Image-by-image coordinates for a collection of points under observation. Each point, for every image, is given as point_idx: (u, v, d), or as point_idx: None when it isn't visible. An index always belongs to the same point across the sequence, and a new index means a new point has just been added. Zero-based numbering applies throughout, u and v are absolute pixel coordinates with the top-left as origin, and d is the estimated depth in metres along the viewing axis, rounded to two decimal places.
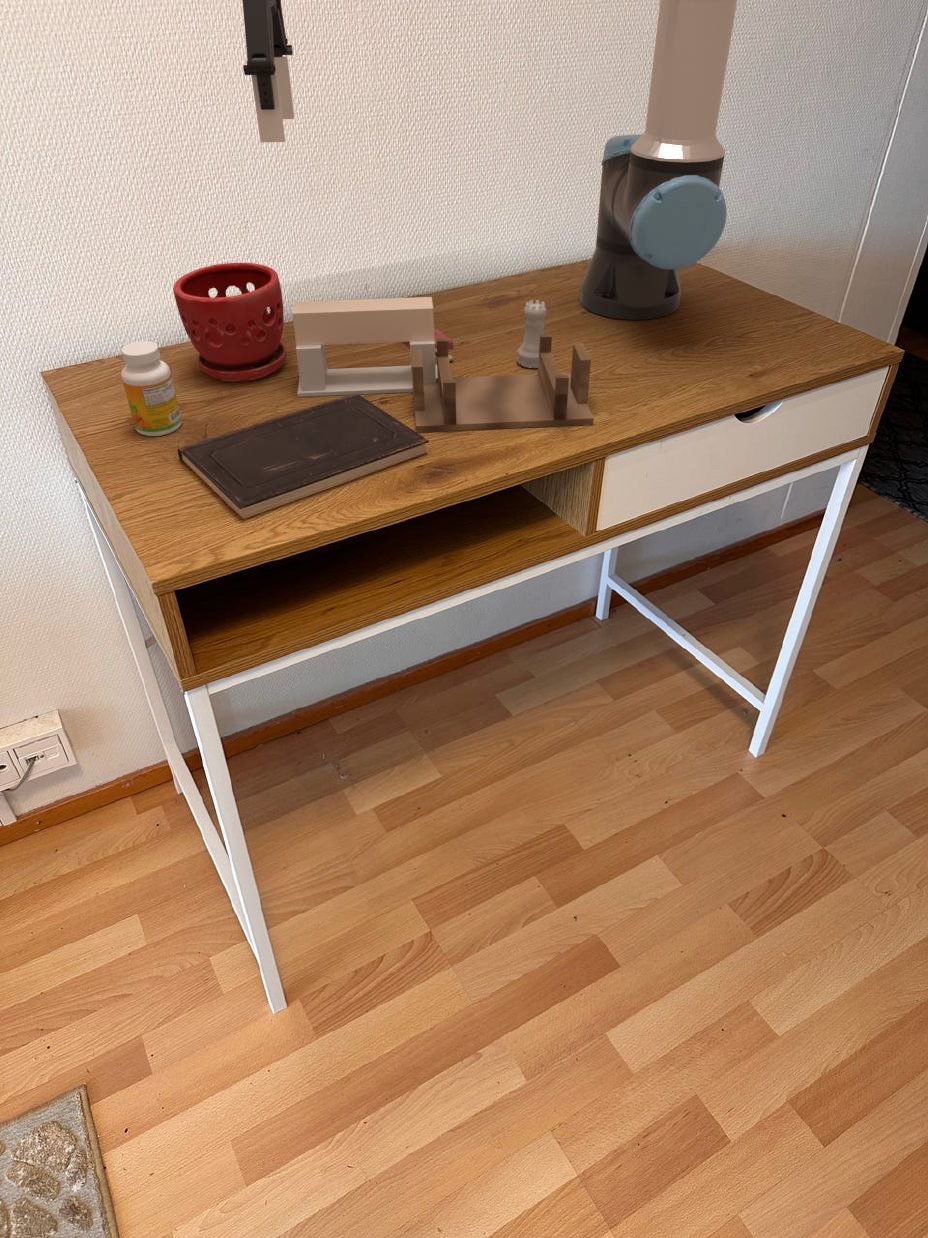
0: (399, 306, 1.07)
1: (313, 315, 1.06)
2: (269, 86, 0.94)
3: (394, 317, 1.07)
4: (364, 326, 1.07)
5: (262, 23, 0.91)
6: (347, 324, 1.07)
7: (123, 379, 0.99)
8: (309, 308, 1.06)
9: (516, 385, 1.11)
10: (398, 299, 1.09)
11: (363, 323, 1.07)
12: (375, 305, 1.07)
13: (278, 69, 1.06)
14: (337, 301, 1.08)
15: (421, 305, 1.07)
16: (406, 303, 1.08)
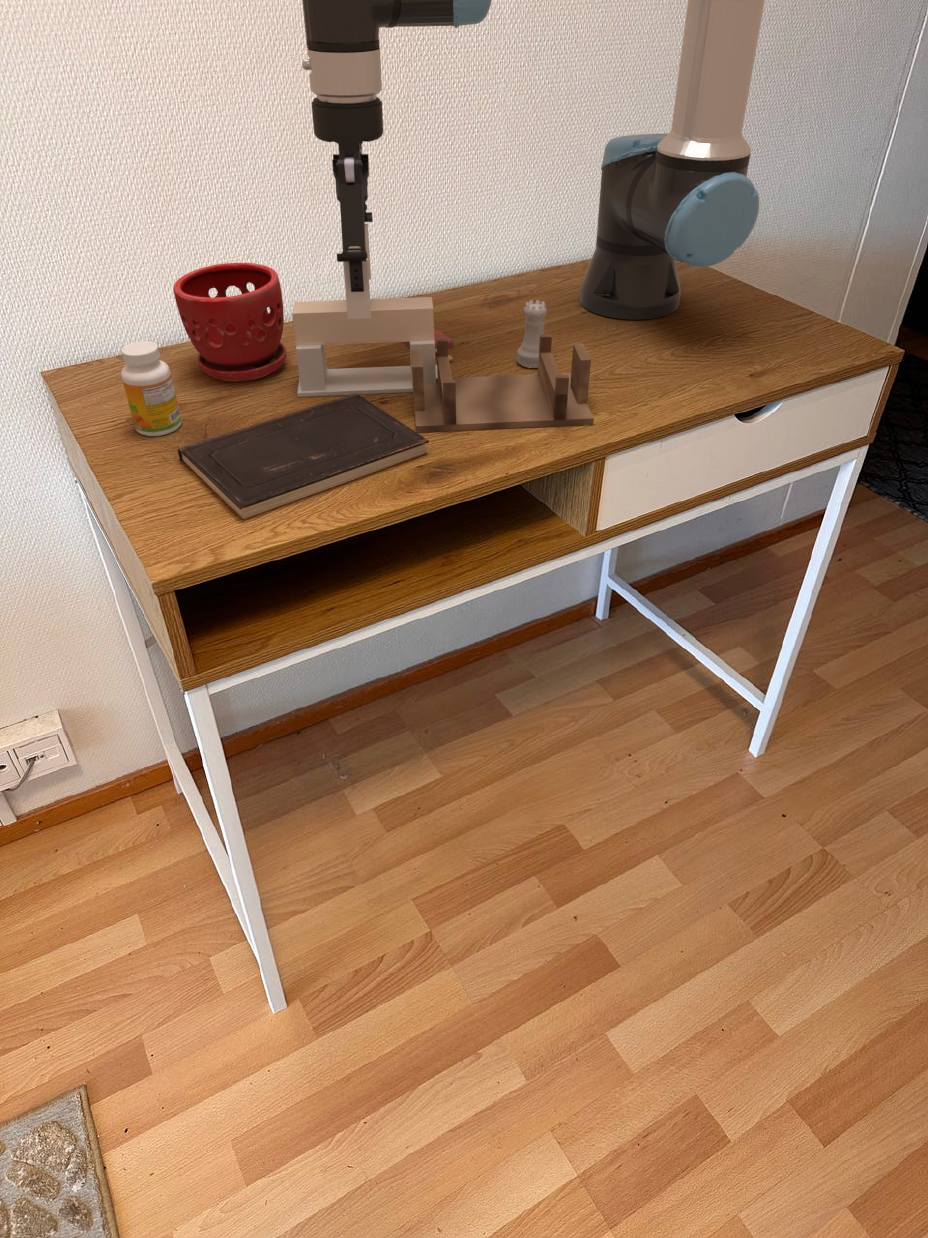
0: (399, 306, 1.07)
1: (313, 315, 1.06)
2: (360, 272, 0.97)
3: (394, 317, 1.07)
4: (364, 326, 1.07)
5: (358, 218, 0.93)
6: (347, 324, 1.07)
7: (123, 379, 0.99)
8: (309, 308, 1.06)
9: (516, 385, 1.11)
10: (398, 299, 1.09)
11: (363, 323, 1.07)
12: (375, 305, 1.07)
13: None
14: (337, 301, 1.08)
15: (421, 305, 1.07)
16: (406, 303, 1.08)
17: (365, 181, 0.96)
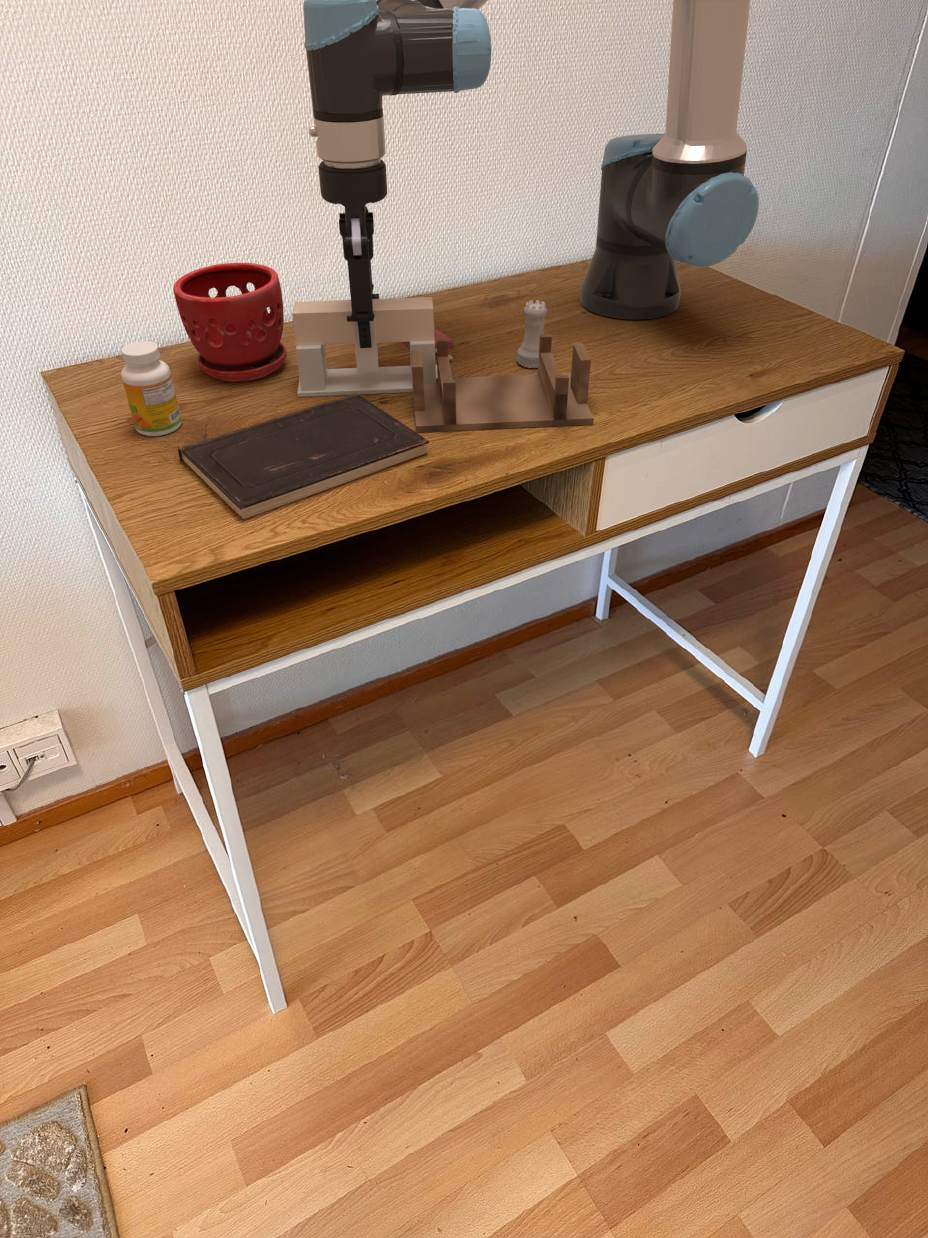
0: (399, 306, 1.07)
1: (313, 315, 1.06)
2: (368, 330, 1.06)
3: (394, 317, 1.07)
4: None
5: (366, 288, 1.00)
6: (347, 324, 1.07)
7: (123, 379, 0.99)
8: (309, 308, 1.06)
9: (516, 385, 1.11)
10: (398, 299, 1.09)
11: None
12: (375, 305, 1.07)
13: None
14: (337, 301, 1.08)
15: (421, 305, 1.07)
16: (406, 303, 1.08)
17: (371, 244, 1.01)
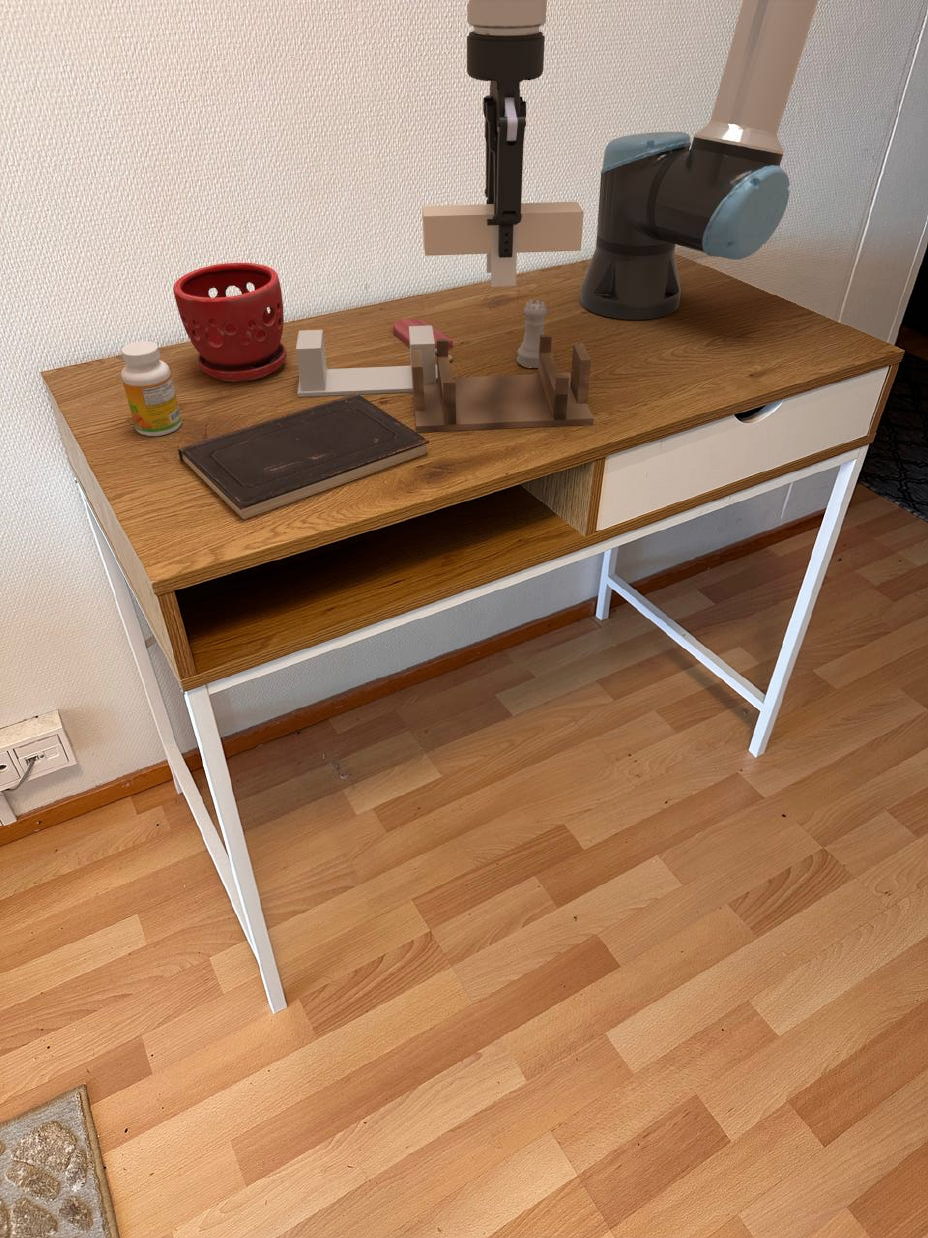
0: (543, 210, 0.94)
1: (447, 219, 0.93)
2: (511, 236, 0.92)
3: (539, 222, 0.93)
4: None
5: (516, 181, 0.87)
6: (485, 229, 0.94)
7: (123, 379, 0.99)
8: (441, 212, 0.93)
9: (516, 385, 1.11)
10: (540, 203, 0.96)
11: None
12: None
13: None
14: (471, 205, 0.95)
15: (569, 209, 0.94)
16: (550, 207, 0.95)
17: None
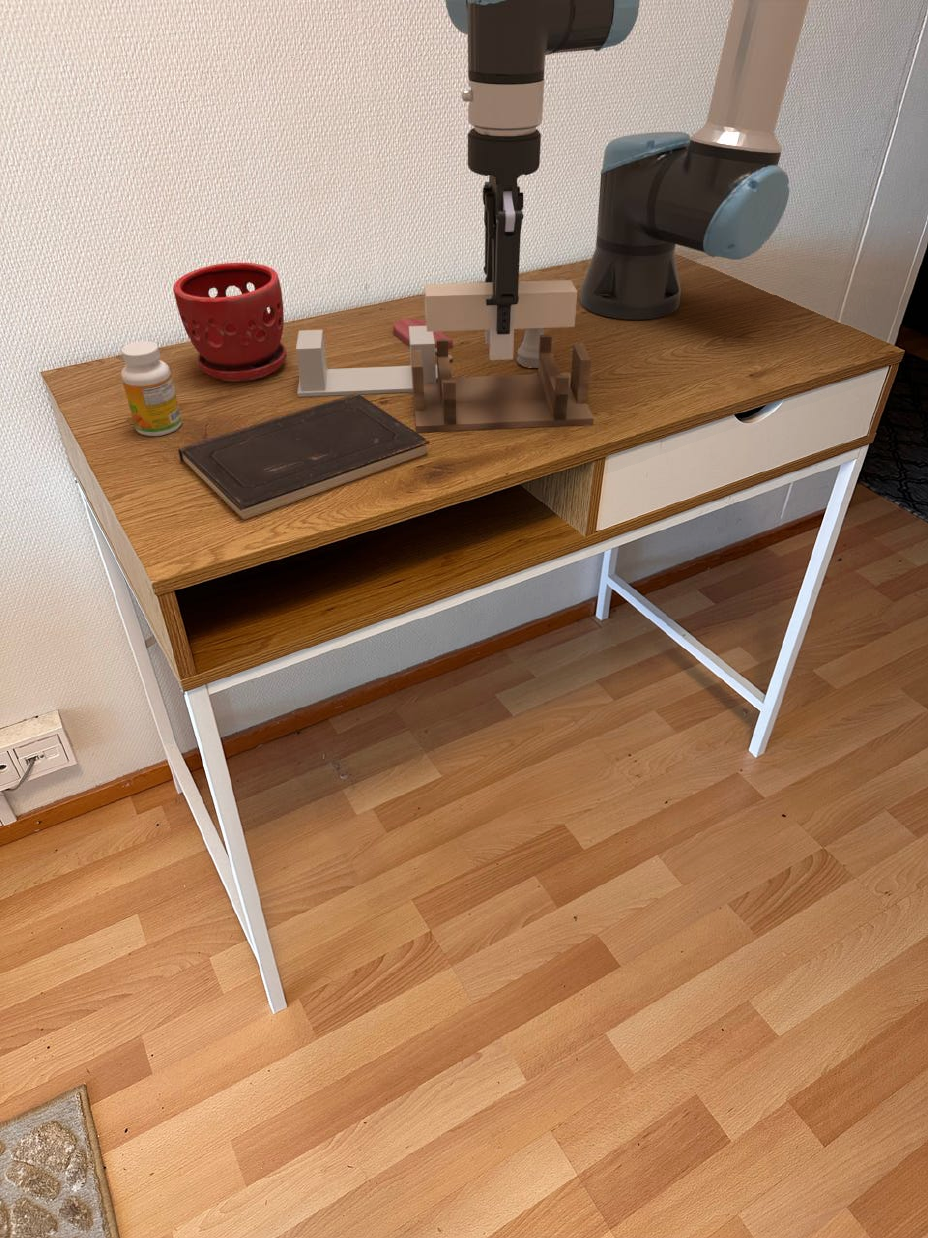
0: (539, 289, 0.99)
1: (448, 298, 0.98)
2: (509, 315, 0.98)
3: (535, 301, 0.99)
4: None
5: (514, 268, 0.93)
6: (484, 308, 0.99)
7: (123, 379, 0.99)
8: (443, 291, 0.98)
9: (516, 385, 1.11)
10: (536, 282, 1.01)
11: None
12: None
13: None
14: (470, 284, 1.00)
15: (563, 288, 0.99)
16: (546, 286, 1.00)
17: None
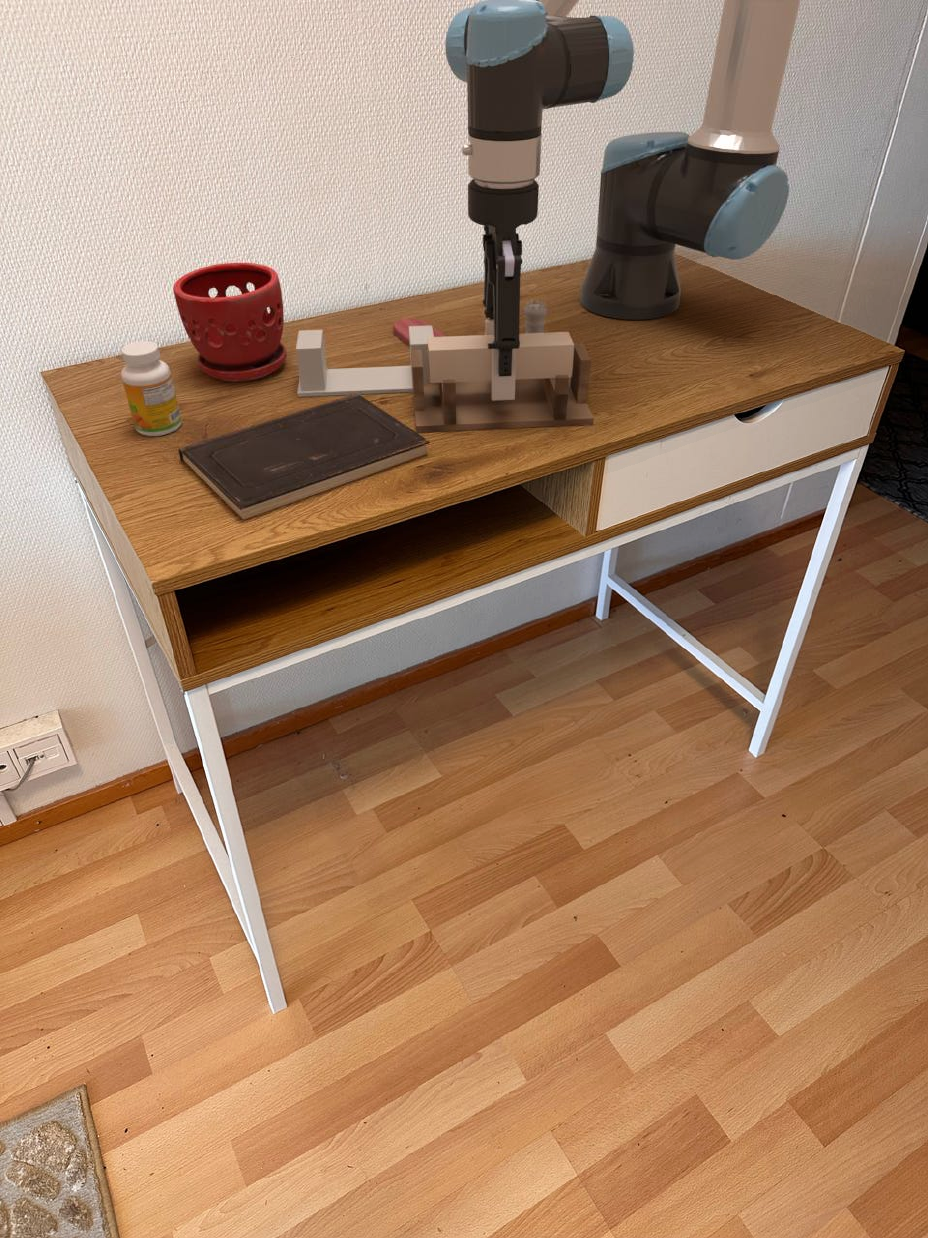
0: (538, 342, 1.03)
1: (450, 352, 1.02)
2: (510, 358, 0.99)
3: (533, 353, 1.03)
4: None
5: (514, 312, 0.95)
6: (485, 361, 1.03)
7: (123, 379, 0.99)
8: (445, 345, 1.03)
9: (516, 385, 1.11)
10: (535, 334, 1.05)
11: None
12: None
13: None
14: (472, 336, 1.04)
15: (561, 341, 1.03)
16: (544, 338, 1.04)
17: None
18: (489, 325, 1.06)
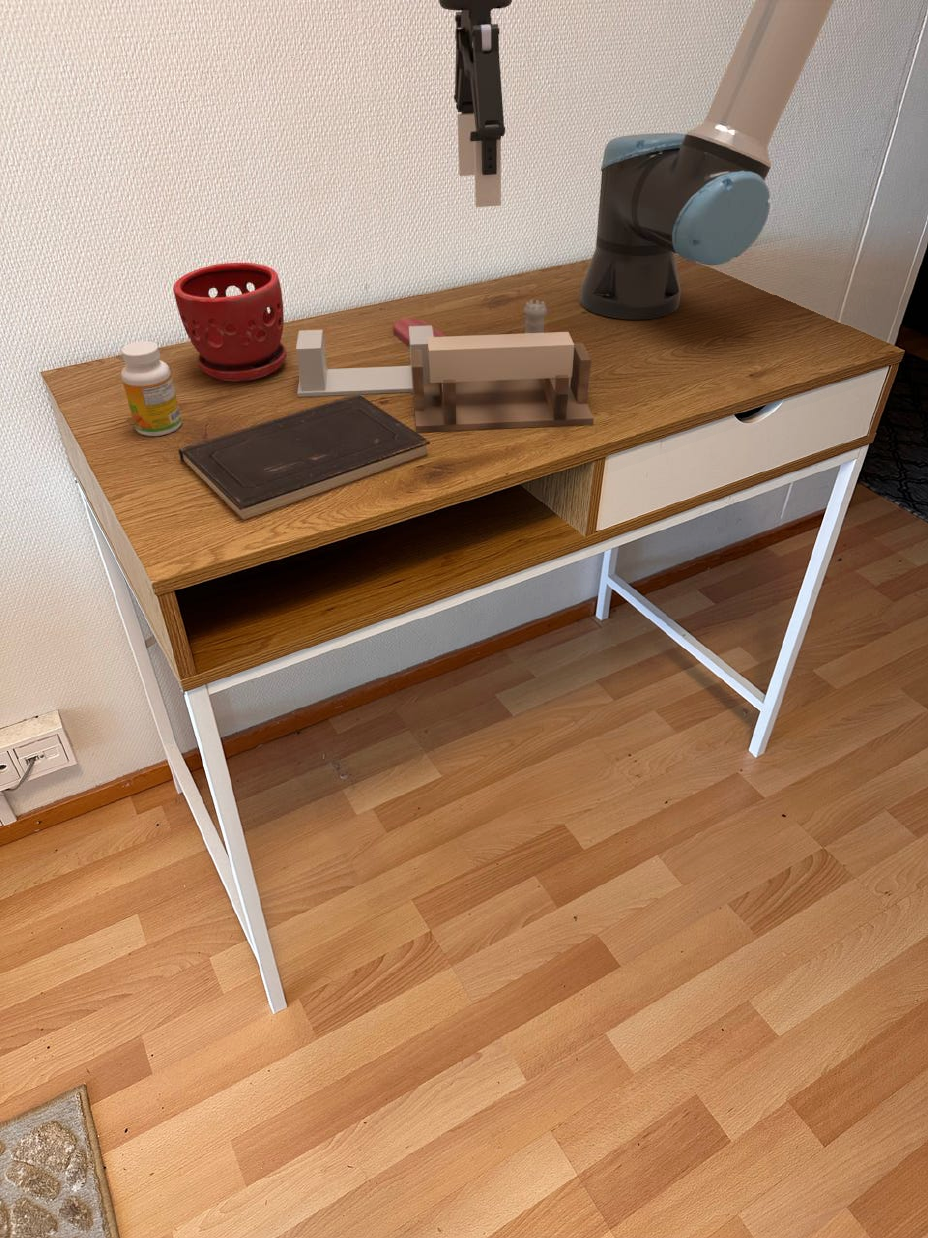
0: (538, 342, 1.03)
1: (450, 352, 1.02)
2: (495, 151, 0.91)
3: (533, 353, 1.03)
4: (501, 363, 1.03)
5: (496, 89, 0.88)
6: (485, 361, 1.03)
7: (123, 379, 0.99)
8: (445, 345, 1.03)
9: (516, 385, 1.11)
10: (535, 334, 1.05)
11: (501, 360, 1.03)
12: (512, 341, 1.03)
13: (471, 126, 1.03)
14: (472, 336, 1.04)
15: (561, 341, 1.03)
16: (544, 338, 1.04)
17: None
18: (462, 118, 1.02)
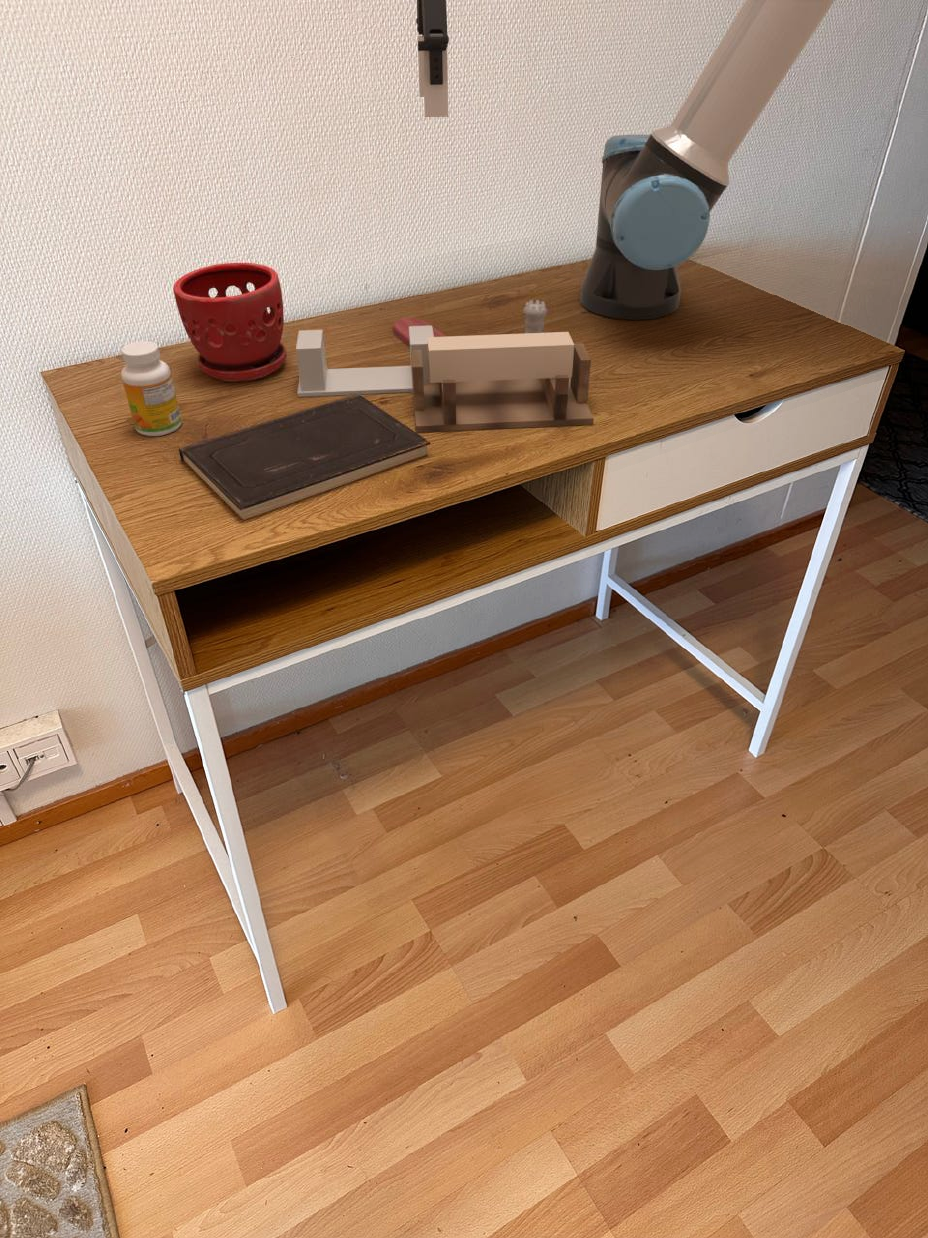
0: (538, 342, 1.03)
1: (450, 352, 1.02)
2: (441, 62, 0.98)
3: (533, 353, 1.03)
4: (501, 363, 1.03)
5: (441, 0, 0.94)
6: (485, 361, 1.03)
7: (123, 379, 0.99)
8: (445, 345, 1.03)
9: (516, 385, 1.11)
10: (535, 334, 1.05)
11: (501, 360, 1.03)
12: (512, 341, 1.03)
13: None
14: (472, 336, 1.04)
15: (561, 341, 1.03)
16: (544, 338, 1.04)
17: None
18: (421, 40, 1.09)
